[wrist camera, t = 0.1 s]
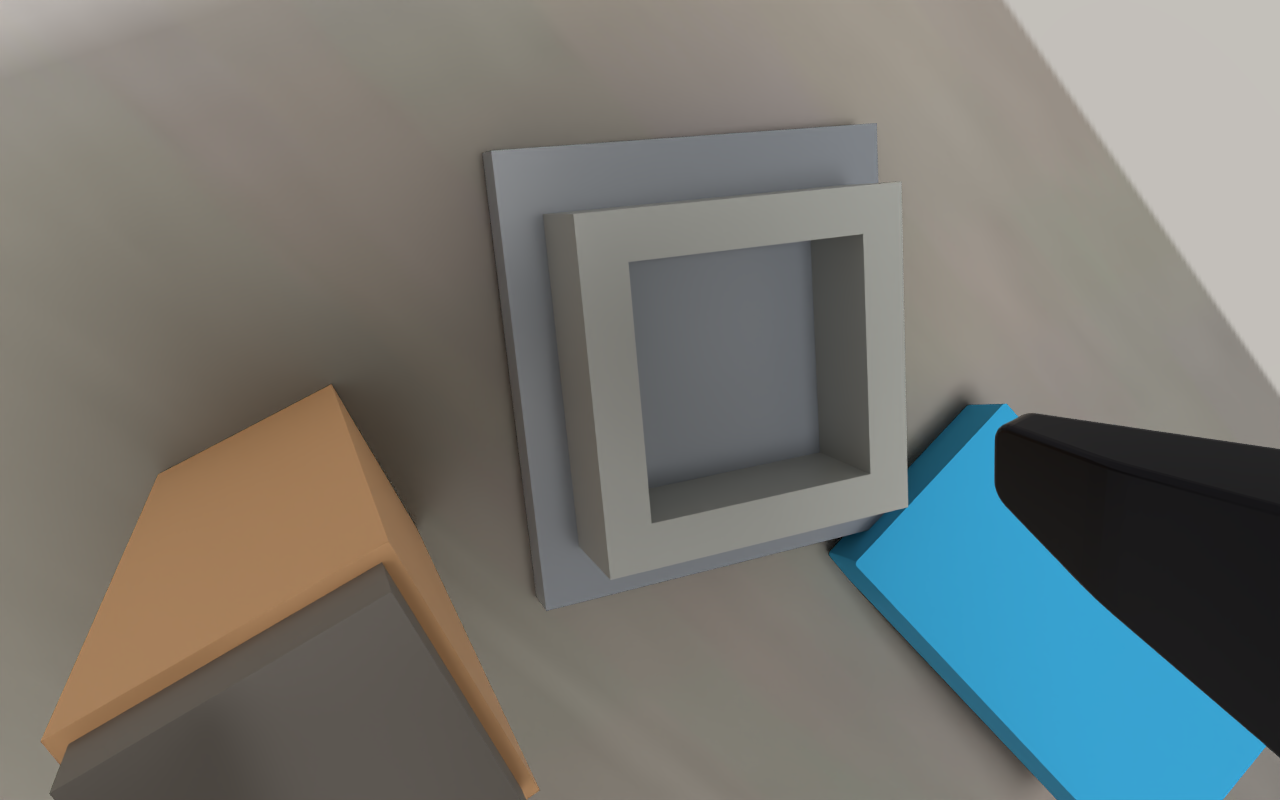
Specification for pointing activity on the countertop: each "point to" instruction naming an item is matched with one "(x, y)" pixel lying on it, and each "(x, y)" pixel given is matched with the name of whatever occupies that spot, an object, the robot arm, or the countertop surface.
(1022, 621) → the blue block
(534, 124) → the countertop surface
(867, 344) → the jig cradle
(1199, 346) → the countertop surface
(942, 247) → the countertop surface
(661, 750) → the countertop surface
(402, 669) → the block
